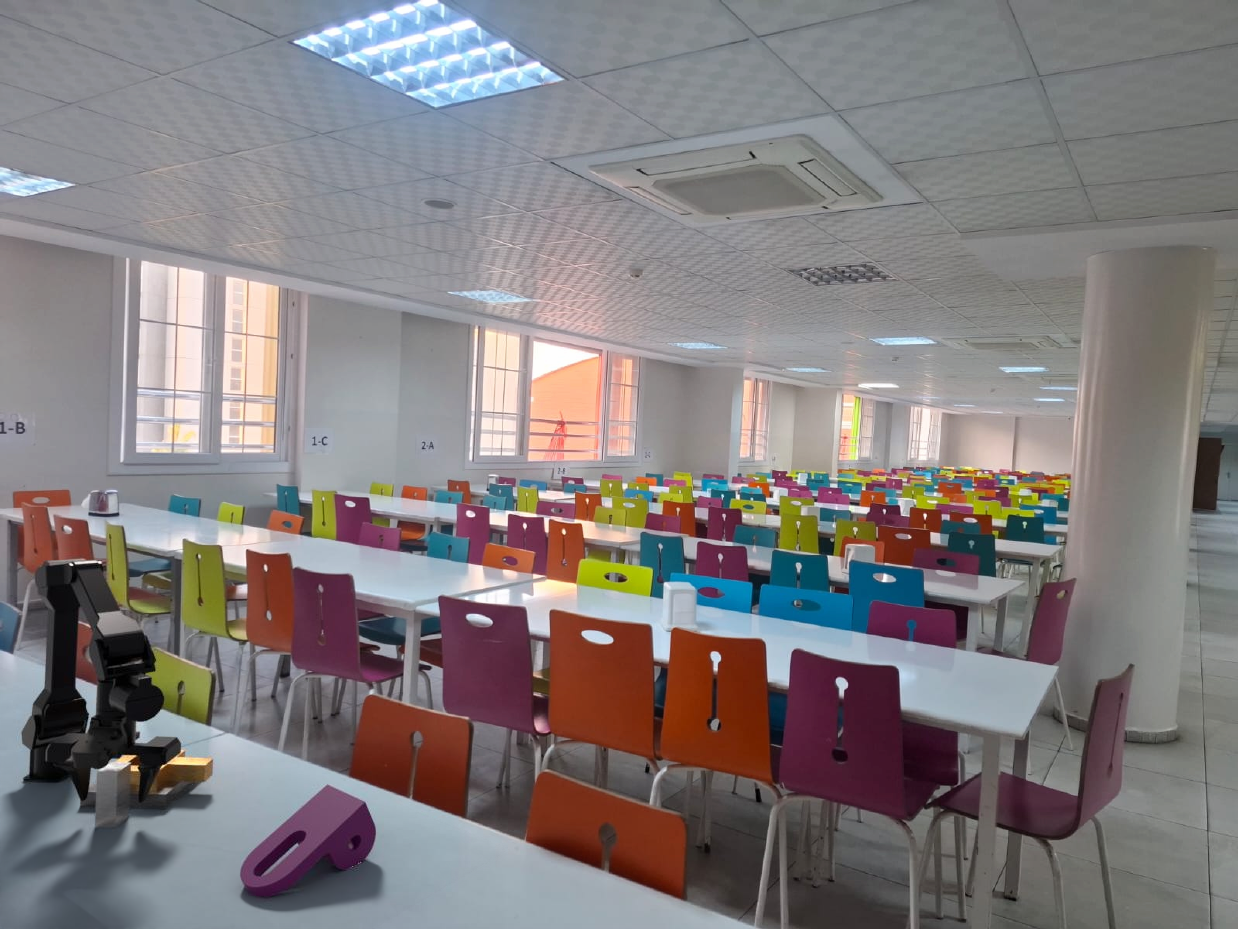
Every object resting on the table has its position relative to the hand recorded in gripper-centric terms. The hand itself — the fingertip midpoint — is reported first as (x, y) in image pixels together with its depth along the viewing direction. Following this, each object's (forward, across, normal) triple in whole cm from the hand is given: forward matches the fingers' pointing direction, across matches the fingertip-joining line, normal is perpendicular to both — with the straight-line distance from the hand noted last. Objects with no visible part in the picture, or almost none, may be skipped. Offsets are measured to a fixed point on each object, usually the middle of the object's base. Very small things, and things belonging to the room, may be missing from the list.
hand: (112, 801), depth 134 cm
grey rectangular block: (+3, 0, 0) cm, 3 cm away
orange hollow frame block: (+3, +1, +12) cm, 12 cm away
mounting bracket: (+4, +35, -13) cm, 38 cm away
